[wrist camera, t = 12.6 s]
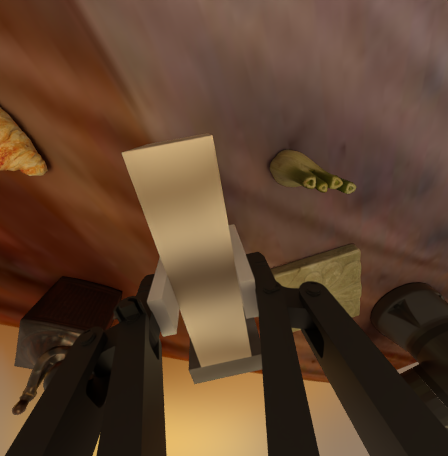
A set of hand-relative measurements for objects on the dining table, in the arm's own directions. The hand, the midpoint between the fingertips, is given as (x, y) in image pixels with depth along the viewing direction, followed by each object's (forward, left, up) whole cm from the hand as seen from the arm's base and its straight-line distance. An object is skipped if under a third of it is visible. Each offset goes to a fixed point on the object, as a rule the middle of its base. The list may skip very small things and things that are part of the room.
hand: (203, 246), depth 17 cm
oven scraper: (0, 0, 0) cm, 0 cm away
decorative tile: (-26, -17, -17) cm, 35 cm away
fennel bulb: (+1, -13, -17) cm, 21 cm away
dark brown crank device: (-15, +24, -17) cm, 32 cm away
